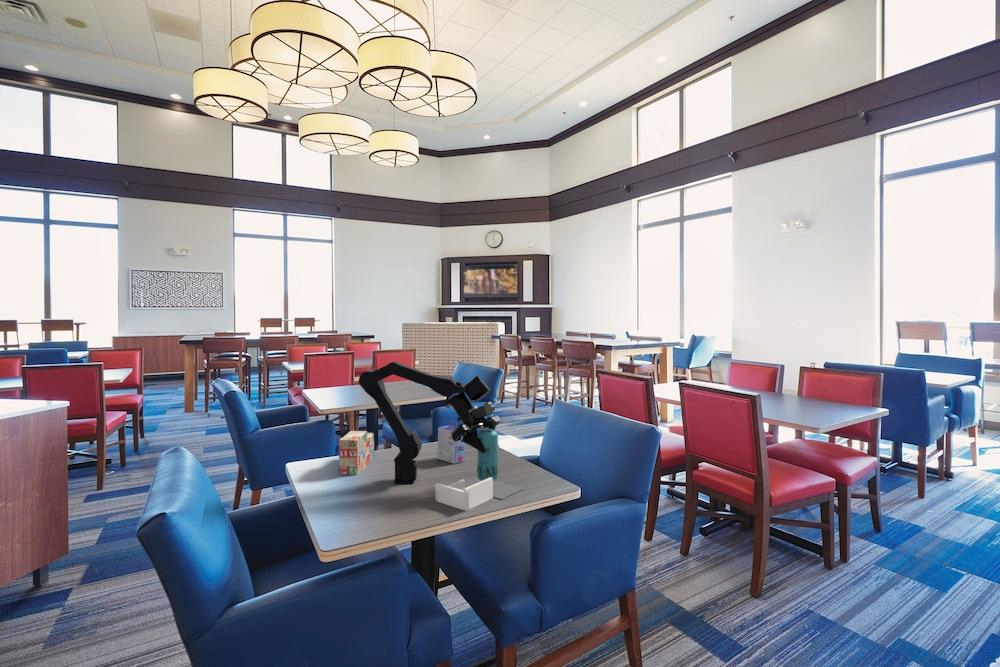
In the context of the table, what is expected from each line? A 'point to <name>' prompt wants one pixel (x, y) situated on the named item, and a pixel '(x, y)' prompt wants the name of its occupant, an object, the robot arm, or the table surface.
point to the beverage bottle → (488, 452)
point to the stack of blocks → (355, 452)
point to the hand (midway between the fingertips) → (491, 450)
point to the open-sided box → (464, 494)
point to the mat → (497, 488)
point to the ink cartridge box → (450, 445)
